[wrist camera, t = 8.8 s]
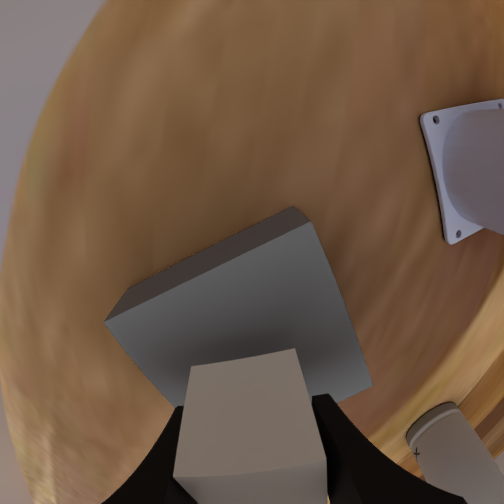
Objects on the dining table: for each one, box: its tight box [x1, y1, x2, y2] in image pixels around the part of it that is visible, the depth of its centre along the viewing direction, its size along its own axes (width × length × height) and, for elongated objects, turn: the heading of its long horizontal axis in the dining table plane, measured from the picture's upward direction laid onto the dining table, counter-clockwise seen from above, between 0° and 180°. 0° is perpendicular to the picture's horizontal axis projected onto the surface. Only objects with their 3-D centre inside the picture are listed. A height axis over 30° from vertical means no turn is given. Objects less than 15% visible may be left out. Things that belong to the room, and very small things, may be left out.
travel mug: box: [406, 403, 504, 504], centre depth 12 cm, size 6×7×20 cm
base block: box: [104, 206, 373, 408], centre depth 15 cm, size 10×10×4 cm
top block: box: [173, 348, 327, 504], centre depth 9 cm, size 4×4×5 cm
